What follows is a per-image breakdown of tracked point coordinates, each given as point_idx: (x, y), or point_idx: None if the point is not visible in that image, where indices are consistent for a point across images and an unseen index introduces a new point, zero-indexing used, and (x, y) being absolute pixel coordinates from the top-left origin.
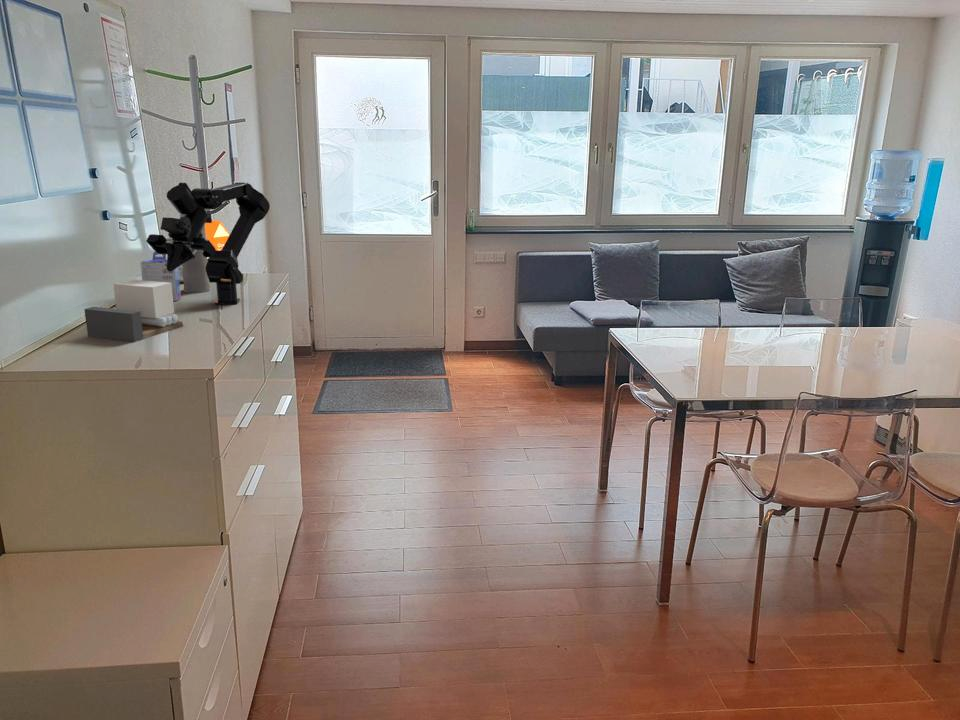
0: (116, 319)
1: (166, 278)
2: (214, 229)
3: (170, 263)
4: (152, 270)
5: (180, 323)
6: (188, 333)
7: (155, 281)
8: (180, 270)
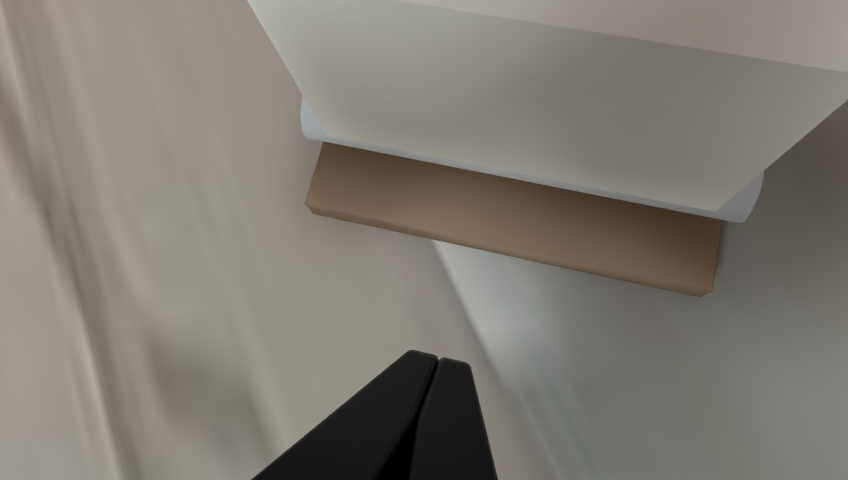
0: None
1: None
2: None
3: (386, 422)
4: None
5: (314, 184)
6: (207, 40)
7: (467, 3)
8: None
